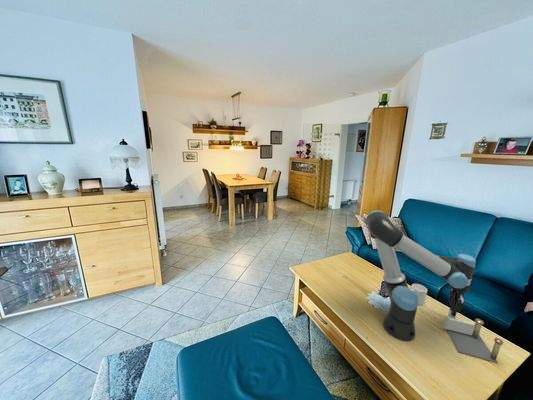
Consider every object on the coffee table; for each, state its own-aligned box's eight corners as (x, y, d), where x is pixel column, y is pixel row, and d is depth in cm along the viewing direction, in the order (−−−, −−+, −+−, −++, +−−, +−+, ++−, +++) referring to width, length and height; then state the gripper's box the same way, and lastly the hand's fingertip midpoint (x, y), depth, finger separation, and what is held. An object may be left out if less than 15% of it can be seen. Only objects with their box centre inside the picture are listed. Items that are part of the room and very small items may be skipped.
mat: (458, 352, 108) (458, 351, 107) (444, 326, 123) (445, 325, 123) (497, 363, 102) (497, 362, 102) (478, 335, 118) (478, 334, 118)
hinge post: (472, 339, 115) (477, 322, 113) (469, 334, 118) (474, 317, 116) (479, 341, 114) (485, 323, 112) (476, 336, 117) (481, 319, 114)
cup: (427, 305, 139) (430, 291, 137) (409, 305, 139) (412, 292, 136) (417, 296, 147) (420, 283, 145) (400, 297, 147) (403, 283, 144)
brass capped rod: (490, 360, 104) (497, 341, 101) (487, 355, 106) (493, 337, 104) (498, 362, 103) (504, 343, 100) (494, 357, 105) (501, 338, 103)
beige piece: (470, 333, 117) (473, 321, 115) (472, 335, 116) (475, 324, 114) (443, 326, 121) (446, 315, 119) (444, 328, 120) (447, 317, 118)
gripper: (475, 291, 111) (464, 329, 117) (463, 277, 123) (454, 312, 128) (457, 287, 113) (447, 325, 119) (447, 274, 125) (438, 309, 131)
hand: (450, 318), depth 124 cm, fingers closed
